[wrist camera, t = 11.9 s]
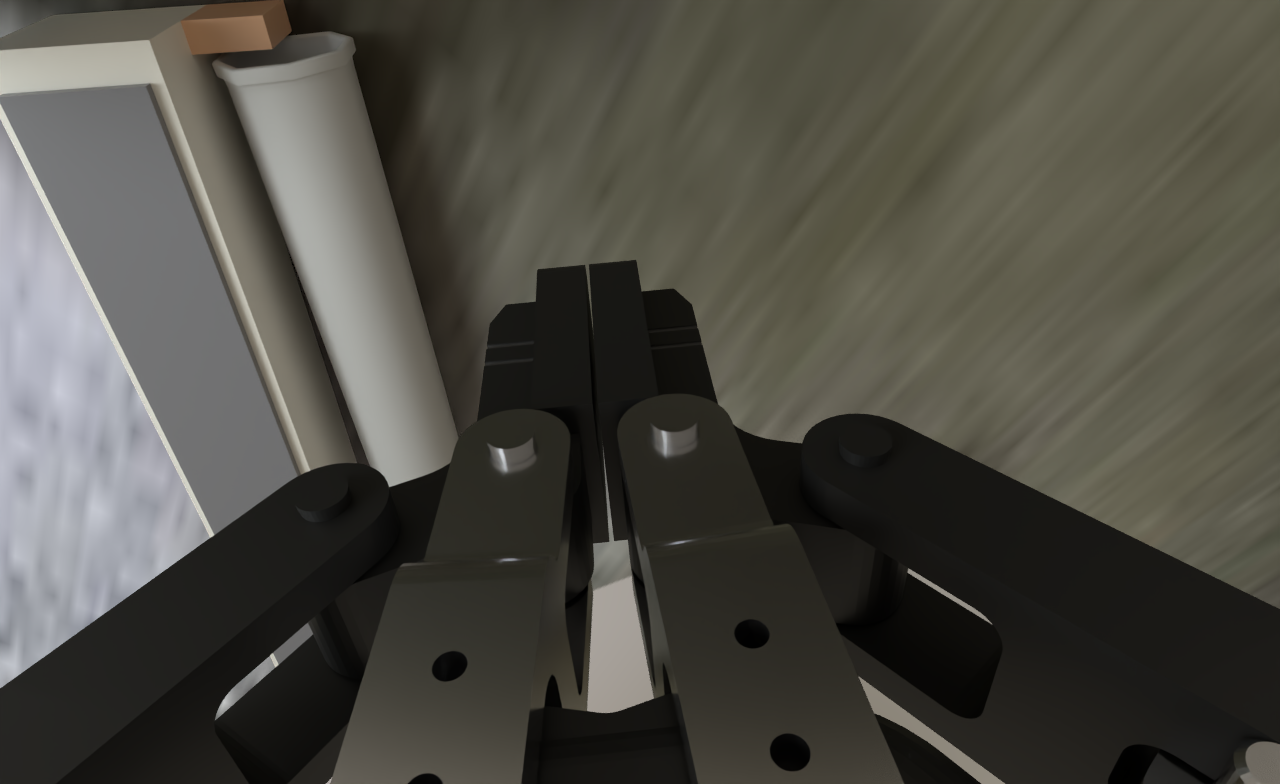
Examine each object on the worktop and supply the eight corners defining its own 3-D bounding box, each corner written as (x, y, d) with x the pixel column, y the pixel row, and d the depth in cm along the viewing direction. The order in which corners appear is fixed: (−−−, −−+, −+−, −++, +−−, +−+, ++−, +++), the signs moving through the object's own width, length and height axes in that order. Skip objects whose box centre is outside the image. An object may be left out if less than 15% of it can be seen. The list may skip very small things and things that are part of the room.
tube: (490, 519, 46) (362, 50, 31) (395, 554, 44) (212, 78, 29) (466, 463, 50) (343, 24, 35) (378, 493, 48) (210, 47, 33)
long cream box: (282, -1, 33) (234, 36, 28) (446, 590, 54) (436, 674, 49) (52, 15, 33) (-40, 55, 27) (307, 605, 54) (282, 691, 48)
